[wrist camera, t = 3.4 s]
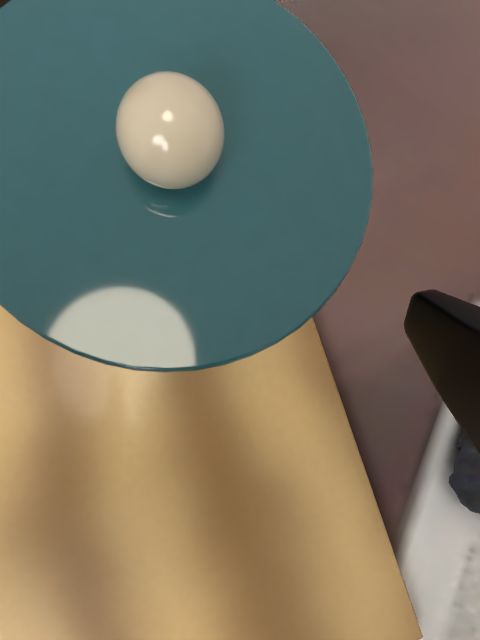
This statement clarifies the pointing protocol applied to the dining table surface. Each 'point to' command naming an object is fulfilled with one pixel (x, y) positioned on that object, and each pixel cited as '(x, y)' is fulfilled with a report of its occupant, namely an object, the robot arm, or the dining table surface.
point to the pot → (173, 177)
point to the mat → (187, 502)
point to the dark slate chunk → (467, 474)
